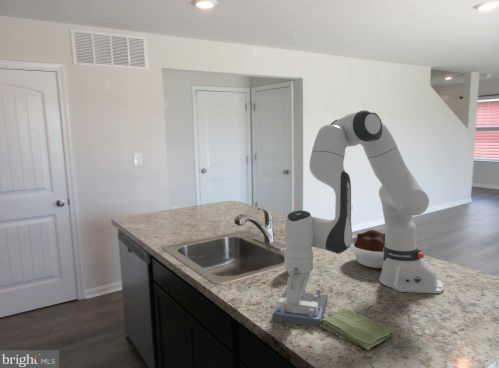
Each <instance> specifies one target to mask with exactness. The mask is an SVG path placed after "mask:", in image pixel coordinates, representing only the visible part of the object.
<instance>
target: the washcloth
mask: <svg viewBox="0 0 499 368" xmlns="http://www.w3.org/2000/svg"><path fill="white" fill-rule="evenodd" d="M321 327H322V328H323V329H324V330H325V331H328V332H330V333H331V332H332V333H331V334H333V333H334V334H333V335H335V334H337V335H338V336H337V335H336V336H337V337H339V336H341V337H343V338H345V339H344V340H346V341H348V340H349V341H348V342H350V343H353V344H355V345H357V346H359V347H360V348H362V347H363V348H362V349H364V350H365V351H370V349H372V348H373V347H375V346H377V345H378V344H381V343H382V342H384V341H386V340H387V339H388V338H390V337H391V336H393V334H394V332H393V331H392V330H391V328H390V327H387V326H386V325H384V324H382V323H380V322H378V321H376V320H373V319H371V318H368V317H365V316H363V315H360V314H359V313H358V312H355V311H352V310H351V309H342V310H340V311H338V312H336V313H335V315H333V316H332V315H330V316H327V317H325V318H323V320H322V321H321ZM341 337H340V338H341ZM343 338H342V339H343Z"/></svg>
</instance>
